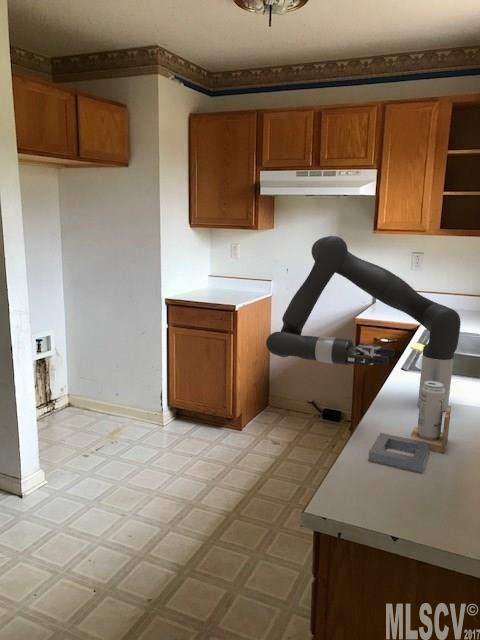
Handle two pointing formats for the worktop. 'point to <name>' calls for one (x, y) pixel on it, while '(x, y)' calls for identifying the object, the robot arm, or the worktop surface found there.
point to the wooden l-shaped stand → (442, 440)
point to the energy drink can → (431, 410)
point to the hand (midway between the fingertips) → (391, 357)
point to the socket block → (396, 459)
